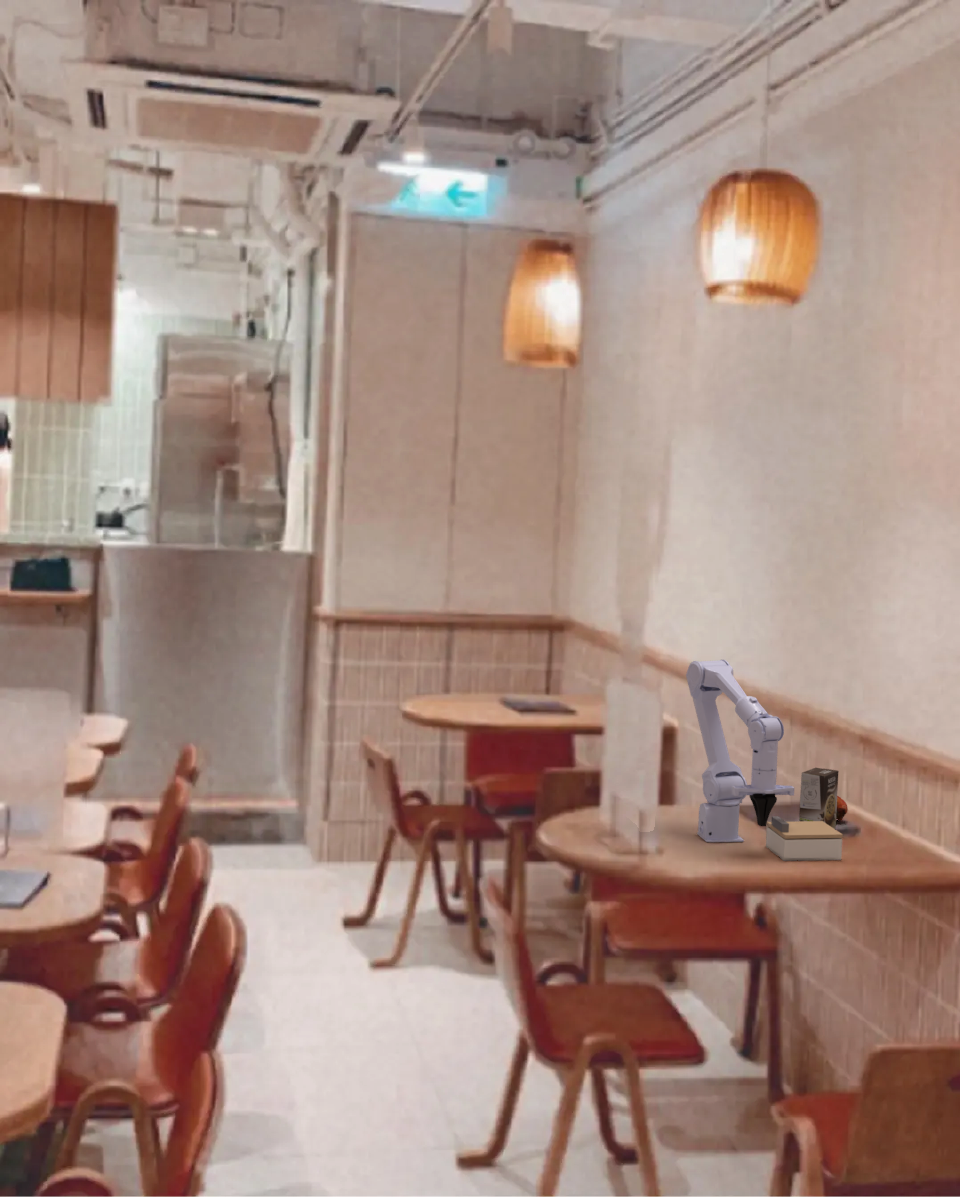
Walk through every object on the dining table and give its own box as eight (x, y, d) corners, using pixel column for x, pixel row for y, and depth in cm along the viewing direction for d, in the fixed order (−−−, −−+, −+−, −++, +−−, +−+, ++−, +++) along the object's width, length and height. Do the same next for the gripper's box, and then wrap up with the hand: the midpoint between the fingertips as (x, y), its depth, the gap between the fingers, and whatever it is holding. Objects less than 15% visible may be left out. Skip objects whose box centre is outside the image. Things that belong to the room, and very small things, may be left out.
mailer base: (783, 860, 318) (784, 839, 317) (765, 846, 330) (766, 826, 329) (841, 859, 320) (842, 838, 319) (821, 845, 332) (822, 825, 331)
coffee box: (821, 840, 336) (824, 776, 335) (797, 835, 340) (800, 772, 339) (836, 833, 344) (839, 770, 342) (812, 828, 347) (815, 766, 346)
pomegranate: (849, 833, 353) (844, 802, 360) (850, 815, 348) (845, 784, 355) (820, 834, 354) (815, 803, 361) (820, 816, 349) (816, 786, 356)
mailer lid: (784, 838, 317) (785, 826, 317) (766, 825, 329) (767, 813, 329) (842, 837, 319) (843, 825, 319) (822, 824, 331) (822, 812, 331)
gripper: (740, 772, 316) (737, 830, 317) (800, 771, 318) (797, 829, 320) (730, 765, 323) (727, 822, 324) (789, 765, 325) (786, 821, 326)
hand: (761, 825), depth 322 cm, fingers closed
